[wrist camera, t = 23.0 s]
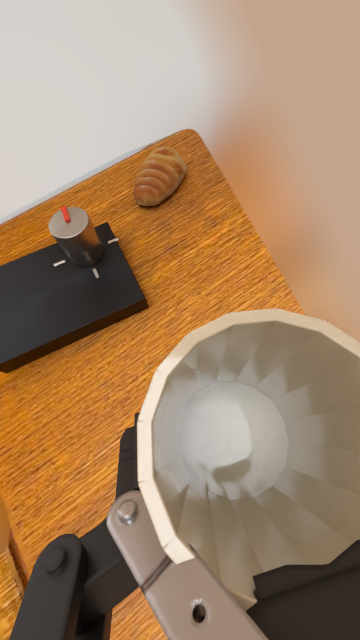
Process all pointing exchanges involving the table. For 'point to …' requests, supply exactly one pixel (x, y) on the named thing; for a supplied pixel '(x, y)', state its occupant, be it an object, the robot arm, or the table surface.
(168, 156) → the pastry
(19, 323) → the hob
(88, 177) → the table surface
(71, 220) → the knob
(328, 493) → the cup
